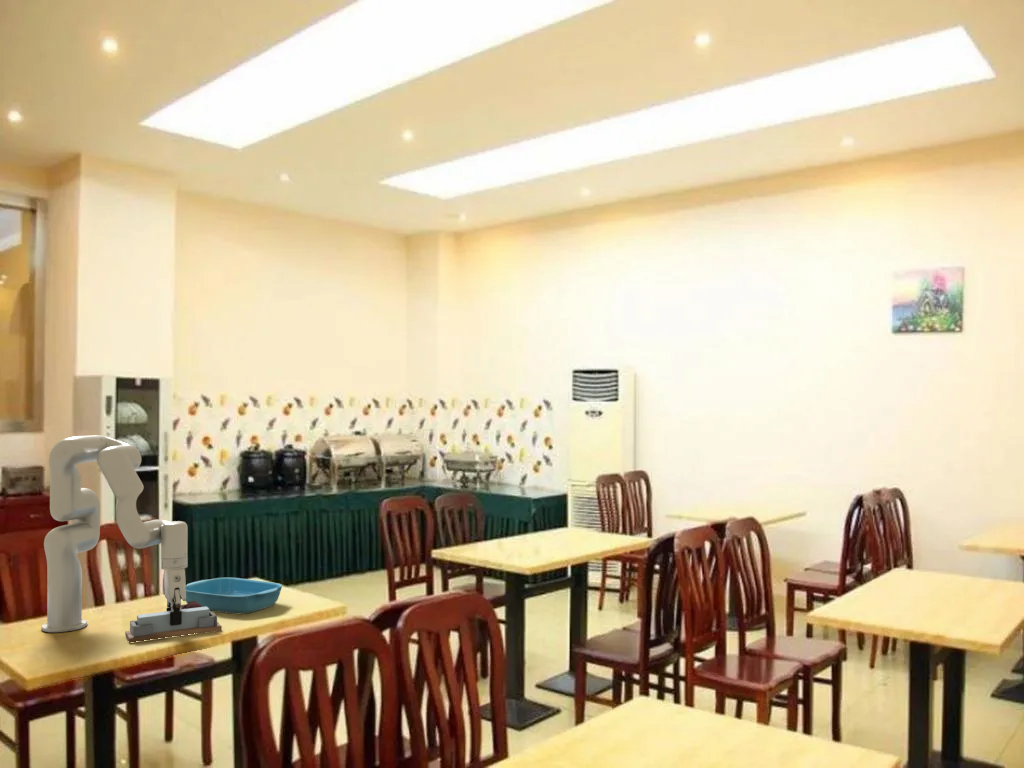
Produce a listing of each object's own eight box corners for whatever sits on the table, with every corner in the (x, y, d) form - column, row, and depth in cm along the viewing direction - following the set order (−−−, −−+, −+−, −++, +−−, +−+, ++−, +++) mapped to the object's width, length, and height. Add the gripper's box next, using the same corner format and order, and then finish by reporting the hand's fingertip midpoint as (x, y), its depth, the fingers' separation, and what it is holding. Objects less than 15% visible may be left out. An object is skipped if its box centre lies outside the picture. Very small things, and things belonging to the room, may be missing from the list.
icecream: (165, 601, 273) (193, 612, 264) (186, 591, 278) (214, 602, 270) (169, 621, 274) (197, 632, 266) (189, 611, 280) (217, 622, 271)
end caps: (130, 631, 256) (130, 621, 256) (211, 620, 268) (211, 610, 268) (133, 637, 249) (133, 626, 249) (217, 626, 262) (217, 616, 262)
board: (125, 636, 256) (125, 631, 256) (215, 624, 269) (215, 619, 269) (129, 643, 248) (129, 638, 248) (221, 630, 262) (221, 626, 262)
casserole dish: (167, 607, 293) (168, 586, 293) (218, 593, 312) (218, 574, 312) (246, 620, 275) (246, 597, 275) (295, 605, 295) (295, 584, 295)
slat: (136, 631, 255) (137, 614, 255) (206, 622, 266) (206, 606, 266) (138, 634, 252) (138, 617, 252) (209, 625, 262) (209, 609, 262)
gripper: (192, 566, 254) (192, 627, 253) (182, 557, 268) (181, 614, 268) (165, 568, 250) (165, 631, 249) (156, 559, 264) (156, 618, 264)
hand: (173, 622), depth 259 cm, fingers open, 5 cm apart
